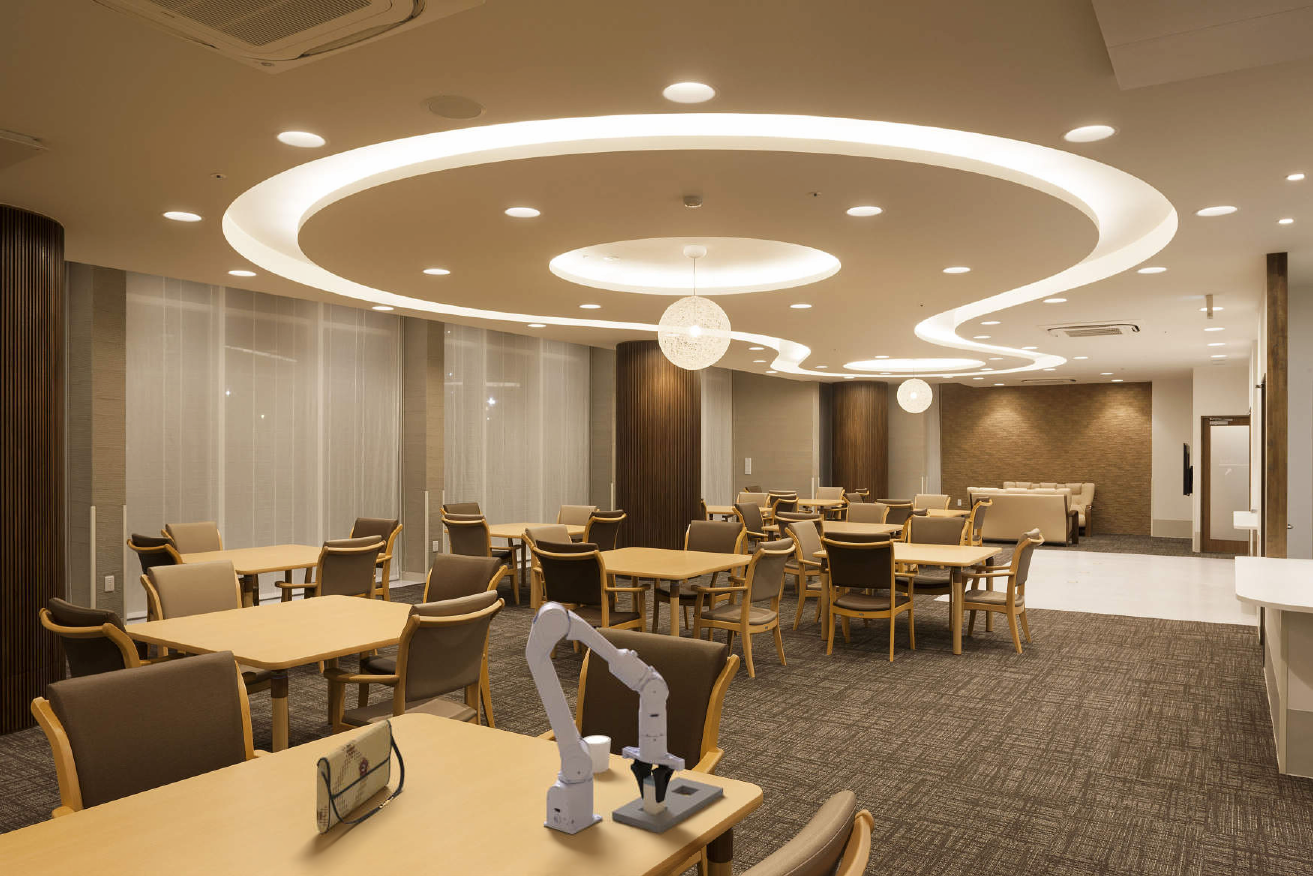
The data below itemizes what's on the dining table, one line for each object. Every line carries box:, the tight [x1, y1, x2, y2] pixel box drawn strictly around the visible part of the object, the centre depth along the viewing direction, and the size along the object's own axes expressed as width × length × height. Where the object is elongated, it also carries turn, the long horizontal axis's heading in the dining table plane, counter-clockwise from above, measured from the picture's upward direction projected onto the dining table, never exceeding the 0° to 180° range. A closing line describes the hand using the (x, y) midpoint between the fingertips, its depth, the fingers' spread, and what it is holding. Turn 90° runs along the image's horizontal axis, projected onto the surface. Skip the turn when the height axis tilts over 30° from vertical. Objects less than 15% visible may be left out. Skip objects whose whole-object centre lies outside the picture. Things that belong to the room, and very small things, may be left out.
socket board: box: [611, 776, 724, 834], centre depth 177 cm, size 24×12×2 cm, turn 144°
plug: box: [643, 773, 665, 815], centre depth 172 cm, size 3×3×7 cm
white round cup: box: [583, 734, 612, 774], centre depth 200 cm, size 7×7×7 cm
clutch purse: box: [316, 718, 406, 834], centre depth 177 cm, size 30×7×15 cm, turn 171°
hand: (653, 799), depth 172 cm, fingers closed on plug, 3 cm apart
